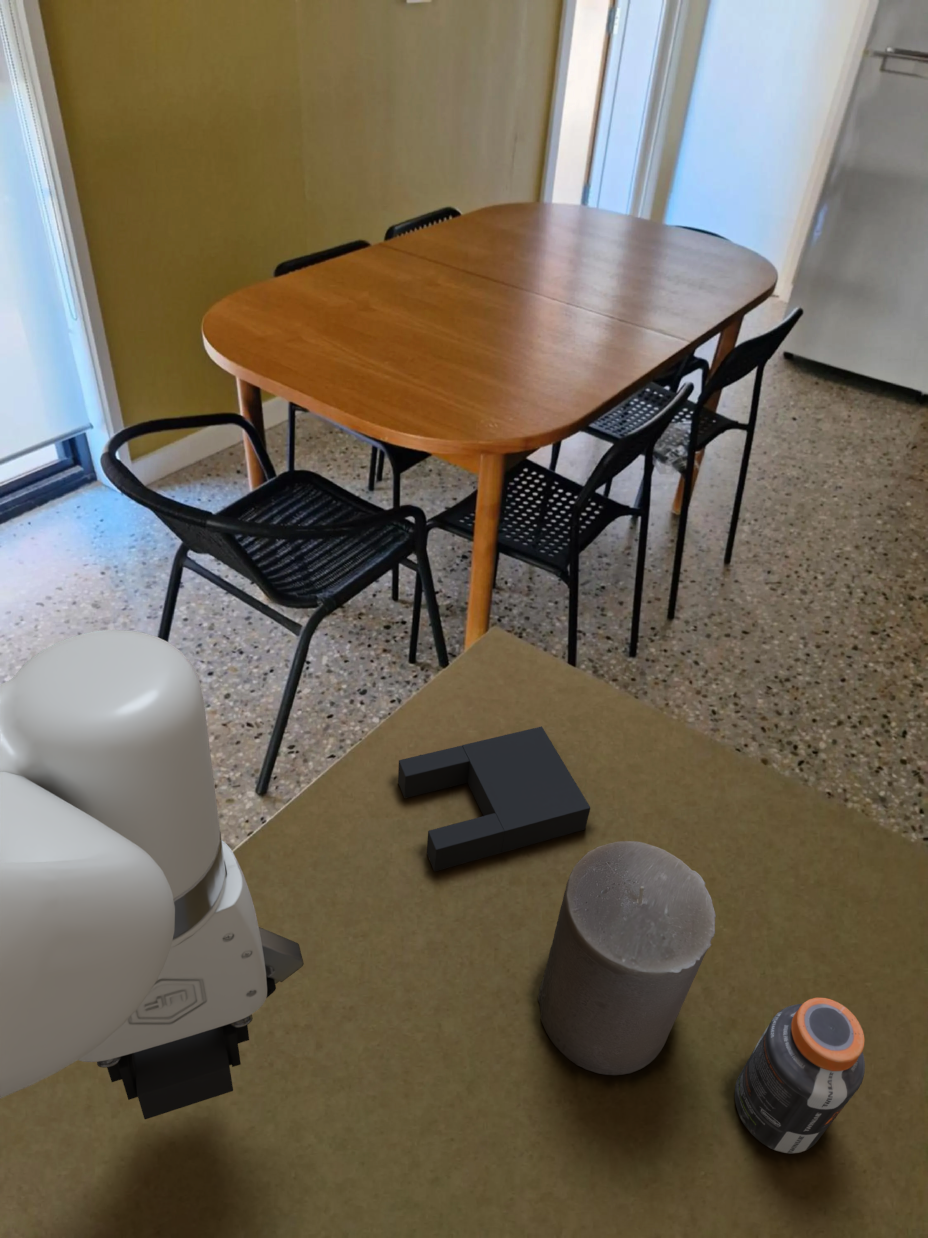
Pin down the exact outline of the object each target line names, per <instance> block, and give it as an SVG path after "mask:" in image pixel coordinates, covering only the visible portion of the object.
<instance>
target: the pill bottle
mask: <svg viewBox="0 0 928 1238" xmlns="http://www.w3.org/2000/svg"><path fill="white" fill-rule="evenodd" d="M865 1039H866V1037H865V1033H864V1030H863V1027H862V1025H861V1023H860V1022H859V1020H858V1019H857V1017H856V1015H854V1013H853V1012H851V1010H850V1009H848V1007H846V1006H845V1005H843V1004H842V1003H839V1002H838V1001H836V1000H833V999H832V998H827V997H813V998H810V999H807V1000H806V1001H804V1002H803V1003H796V1004H793V1005H792V1004H791V1005H788V1006H786V1007H784V1008H782V1009H781V1010H780V1011H778V1012H777V1013H776V1014H775V1016H773V1017H772V1019H771V1021H770V1023H769V1024H768V1026H767V1027H766V1029H765V1030H764V1032H763V1033H762V1034H761V1036H760V1038H759V1040H758V1042H757V1043H756V1045H755V1047H754V1049H753V1050H752V1053H751V1054H750V1056H749V1058H748V1059H747V1061H746V1063H745V1064H744V1066H743V1068H742V1070H741V1071H740V1073H739V1075H738V1077H737V1079H736V1082H735V1085H734V1103H735V1107H736V1111H737V1114H738V1116H739V1118H740V1120H741V1122H742V1124H743V1125H744V1127H745V1128H746V1129H747V1131H748V1132H749V1133H750V1134H751V1135H752V1136H753V1137H754V1138H755V1139H756V1140H757V1141H758V1142H760V1143H761V1144H763V1145H764V1146H765V1147H767V1148H769V1149H771V1150H774V1151H776V1152H780V1153H784V1154H800V1153H802V1152H805V1151H808V1150H809V1149H811V1148H812V1147H813V1146H815V1145H816V1143H817V1142H818V1141H819V1139H820V1138H821V1137H822V1136H823V1135H824V1133H825V1132H826V1131H827V1129H828V1128H829V1127H830V1125H832V1123H833V1122H834V1121H835V1119H837V1117H838V1115H839V1114H840V1113H841V1111H842V1110H843V1109H844V1107H846V1105H847V1104H848V1103H849V1102H850V1100H851V1099H852V1098H853V1096H854V1095H855V1094H856V1093H857V1091H858V1090H859V1089H860V1087H861V1085H862V1083H863V1080H864V1077H865V1073H866V1072H865V1070H866V1062H865V1056H864V1052H863V1051H864V1048H865V1042H866V1041H865Z"/></svg>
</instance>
